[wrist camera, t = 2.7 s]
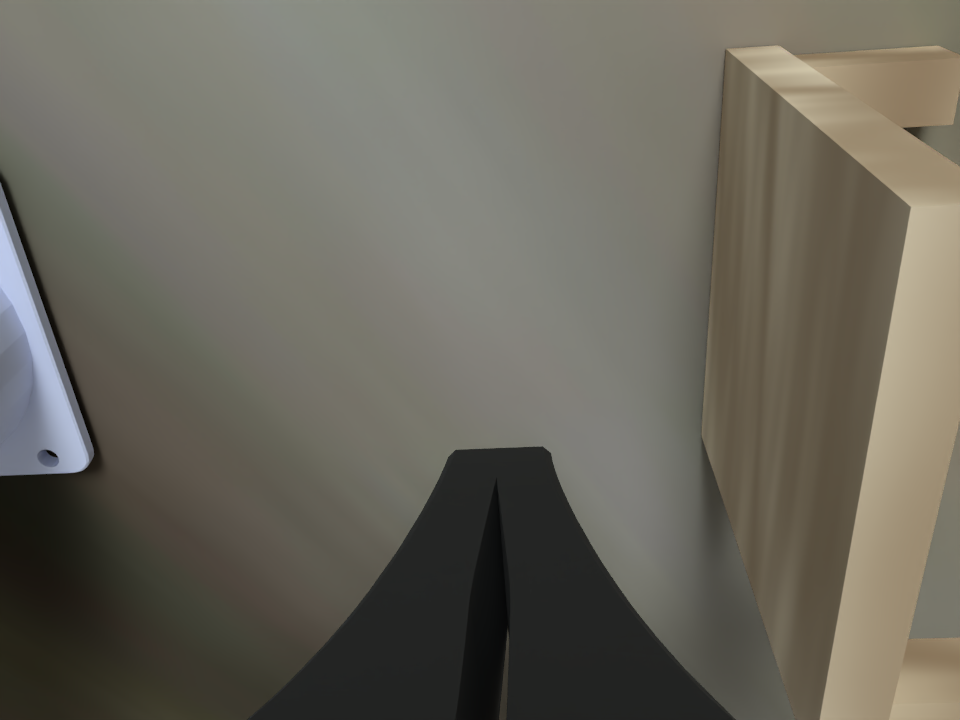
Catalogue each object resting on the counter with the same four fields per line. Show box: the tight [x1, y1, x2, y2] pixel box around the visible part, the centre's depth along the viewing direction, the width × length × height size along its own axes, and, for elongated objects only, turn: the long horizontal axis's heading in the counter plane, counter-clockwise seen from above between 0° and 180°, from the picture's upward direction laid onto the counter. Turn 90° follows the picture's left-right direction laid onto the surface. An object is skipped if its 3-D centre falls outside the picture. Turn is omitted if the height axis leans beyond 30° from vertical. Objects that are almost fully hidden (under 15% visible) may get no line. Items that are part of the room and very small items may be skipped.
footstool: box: [701, 45, 960, 720], centre depth 15 cm, size 4×9×9 cm, turn 4°
